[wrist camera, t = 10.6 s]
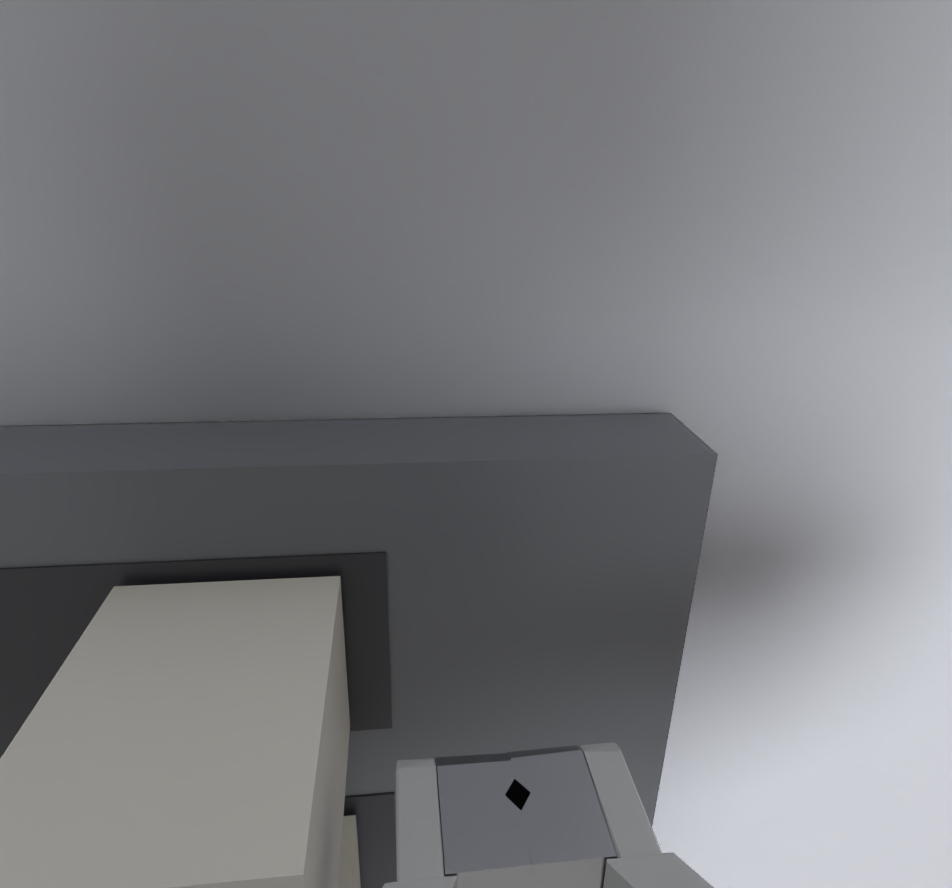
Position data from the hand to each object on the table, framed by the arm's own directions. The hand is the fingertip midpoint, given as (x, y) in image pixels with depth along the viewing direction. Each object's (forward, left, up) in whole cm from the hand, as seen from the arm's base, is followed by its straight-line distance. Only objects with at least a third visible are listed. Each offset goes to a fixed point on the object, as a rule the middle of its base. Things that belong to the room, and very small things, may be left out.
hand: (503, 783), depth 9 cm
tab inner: (0, -4, -3) cm, 5 cm away
